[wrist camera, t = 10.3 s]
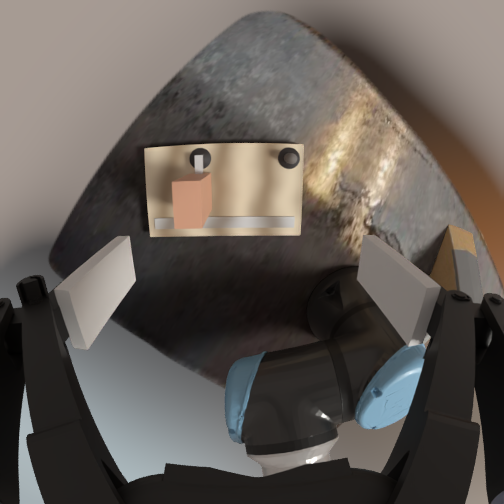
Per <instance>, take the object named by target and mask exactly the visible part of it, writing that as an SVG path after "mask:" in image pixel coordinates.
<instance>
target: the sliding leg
mask: <svg viewBox="0 0 504 504" xmlns="http://www.w3.org/2000/svg"><path fill="white" fill-rule="evenodd" d="M172 198H173V214H174V228H175V229H199V228H203V226H204V224H205V222H206V220H207V218H208V216H209V214H210V212H211V210H212V183H211V173H203V155H195V173H194V174H188V175H185V176H183V177H181V178H179V179H177V180H175V181H173V182H172Z"/></svg>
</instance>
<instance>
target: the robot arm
mask: <svg viewBox="0 0 504 504" xmlns="http://www.w3.org/2000/svg"><path fill="white" fill-rule="evenodd" d="M135 281H136V278H135V272H134V265H133V259H132V252H131V244H130V236H117V237H116V238H115V239H114V240H112V241H111V242H110V243H108V244H107V245H106V246H105V247H103V248H102V249H101V250H100V251H98V252H97V253H96V254H95V255H93V256H92V257H91V258H90V259H89V260H87V261H86V262H85V263H84V264H83V265H81V266H80V267H79V268H78V269H77V270H75V271H74V272H73V273H72V274H71V275H69V276H68V277H67V278H65V279H64V280H63V282H61V283H60V284H59V285H58V286H56V288H54V289H53V290H52V291H51V292H50V293H49V294H48V291H47V288H46V284H45V280H44V277H43V276H41V275H34V276H29V277H27V278H24V279H23V280H21V281H20V282H19V283H17V285H16V287H17V291H18V293H19V297H20V300H21V303H22V308H13V307H12V304H11V301H10V299H8V298H1V299H0V504H19V501H20V500H19V474H18V450H19V430H20V418H21V408H22V399H23V393H24V386H25V385H26V392H27V399H28V405H29V411H30V417H31V422H32V427H33V432H34V433H32V434H28V435H27V437H26V440H27V447H28V451H29V455H30V459H31V463H32V467H33V470H34V473H35V477H36V480H37V483H38V486H39V489H40V492H41V495H42V498H43V500H44V503H45V504H465V501H466V498H467V495H468V491H469V487H470V483H471V479H472V474H473V470H474V465H475V460H476V455H477V448H478V442H479V435H480V425H479V424H478V423H475V422H471V417H472V408H473V397H474V387H475V391H476V396H477V401H478V407H479V413H480V419H481V425H482V434H483V443H484V454H485V472H486V489H487V496H488V502H489V504H504V299H503V298H502V297H501V296H500V295H497V294H492V293H487V294H485V295H484V297H483V300H482V302H481V303H473V301H472V298H471V297H470V296H469V295H467V294H466V293H464V292H462V291H458V290H449V291H447V290H445V289H444V288H443V287H442V286H441V285H439V284H438V283H437V282H435V280H433V279H432V278H431V277H430V276H428V275H427V274H426V273H424V272H422V271H421V270H420V269H419V268H417V267H416V266H415V265H414V264H412V263H411V262H410V261H409V260H407V259H406V258H405V257H403V256H402V255H401V254H399V253H398V252H397V251H395V250H394V249H393V248H391V247H390V246H389V245H387V244H386V243H385V242H383V241H382V240H381V239H379V238H378V237H376V236H375V235H363V240H362V248H361V255H360V262H359V267H348V268H344V269H341V270H338V271H336V272H334V273H332V274H330V275H329V276H327V277H326V278H325V279H323V280H322V281H321V282H320V283H319V284H318V285H317V287H316V288H315V289H314V291H313V293H312V294H311V296H310V299H309V301H308V305H307V319H308V322H309V325H310V328H311V330H312V332H313V333H314V335H315V336H316V337H317V338H318V339H319V340H320V341H318V342H315V343H311V344H306V345H302V346H297V347H293V348H288V349H283V350H278V351H273V352H267V351H265V352H262V353H261V354H258V355H254V356H250V357H246V358H241V359H239V360H237V361H236V362H235V363H234V364H233V365H232V367H231V368H230V371H229V374H228V377H227V381H226V388H225V418H226V424H227V427H228V431H229V436H230V438H231V439H232V440H233V441H234V442H237V443H239V444H242V443H245V447H246V452H247V456H248V457H250V458H251V459H253V460H254V461H256V462H258V463H259V464H260V465H261V466H262V472H263V477H250V476H245V475H240V474H236V473H231V472H227V471H222V470H218V469H214V468H211V467H197V466H186V465H177V464H167V463H166V466H165V471H164V474H157V475H150V476H146V477H143V478H139V479H136V480H134V481H131V482H129V483H128V482H127V480H126V479H125V478H124V476H123V475H122V473H121V472H120V470H119V469H118V467H117V465H116V463H115V461H114V459H113V458H112V456H111V454H110V452H109V450H108V448H107V446H106V444H105V442H104V440H103V438H102V436H101V434H100V432H99V430H98V428H97V426H96V424H95V421H94V419H93V417H92V415H91V412H90V410H89V408H88V405H87V403H86V400H85V398H84V395H83V393H82V390H81V388H80V385H79V382H78V379H77V376H76V373H75V371H74V367H73V365H72V362H71V358H70V355H69V352H68V349H67V346H66V344H65V341H66V340H67V339H68V337H70V340H71V343H72V345H73V348H76V349H82V350H88V349H89V348H90V346H91V345H92V343H93V342H94V340H95V339H96V337H97V336H98V334H99V333H100V331H101V330H102V328H103V327H104V325H105V324H106V322H107V321H108V319H109V318H110V316H111V315H112V314H113V312H114V311H115V309H116V308H117V306H118V305H119V304H120V302H121V301H122V299H123V298H124V297H125V295H126V294H127V292H128V291H129V290H130V288H131V287H132V285H133V284H134V283H135ZM426 332H427V333H428V334H429V335H430V336H431V339H430V342H429V344H428V346H427V349H425V346H424V344H423V340H424V338H425V335H426ZM405 415H407V417H406V419H405V422H404V424H403V427H402V430H401V432H400V435H399V437H398V439H397V442H396V444H395V446H394V448H393V451H392V453H391V455H390V457H389V459H388V462H387V463H386V465H385V467H384V469H383V470H382V472H381V473H378V472H375V471H370V470H366V469H358V468H350V466H349V462H348V458H343V459H338V460H332V461H331V460H330V455H329V452H330V449H331V448H332V447H333V445H334V444H335V443H336V441H337V440H338V433H337V427H336V425H337V424H340V423H343V422H347V421H350V420H354V419H355V420H356V422H357V423H358V424H359V425H360V426H361V427H363V428H365V429H371V428H372V429H379V428H382V427H385V426H388V425H390V424H392V423H394V422H396V421H398V420H399V419H401V418H403V417H404V416H405Z"/></svg>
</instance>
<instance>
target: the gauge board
mask: <svg viewBox="0 0 504 504" xmlns="http://www.w3.org/2000/svg"><path fill="white" fill-rule="evenodd" d="M144 150H145V176H146V193H147V207H148V218H149V229H150V237H172V236H246V235H300V233H301V213H302V189H303V152H304V145H303V144H278V143H219V144H195V145H179V146H165V147H154V148H144ZM195 155H203V173H211V183H212V210H211V212H210V214H209V216H208V218H207V220H206V222H205V224H204V226H203V228H199V229H175V228H174V214H173V198H172V182H173V181H175V180H177V179H179V178H181V177H183V176H185V175H188V174H194V173H195Z"/></svg>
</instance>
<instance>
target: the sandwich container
mask: <svg viewBox="0 0 504 504" xmlns="http://www.w3.org/2000/svg"><path fill="white" fill-rule="evenodd" d="M436 260H437V261H435V262H436V263H434V266H433V267H434V268H432V271H431V274H430V277H431V278H432V279H433V280H435V282H437V283H438V284H439V285H441V286H442V287H443V288H444V289H445V290H447V291H449V290H458V291H462V292H464V293H466V294H467V295H469V296H470V297H471V298H472V301H473V303H481V302H482V300H483V293H482V285H481V278H480V272H479V266H478V261H477V255H476V250H475V245H474V240H473V235H472V233H470V232H468V231H466V230H463V229H461V228H459V227H456V226H453V225H450V224H449V225H448V228H447V231H446V233H445V236H444V239H443V242H442V245H441V247H440V250H439V253H438V255H437V258H436Z"/></svg>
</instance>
